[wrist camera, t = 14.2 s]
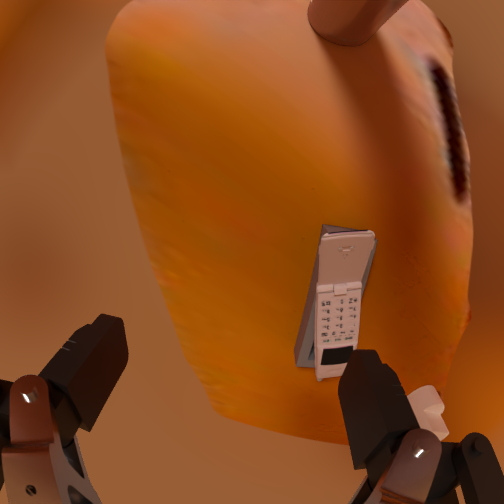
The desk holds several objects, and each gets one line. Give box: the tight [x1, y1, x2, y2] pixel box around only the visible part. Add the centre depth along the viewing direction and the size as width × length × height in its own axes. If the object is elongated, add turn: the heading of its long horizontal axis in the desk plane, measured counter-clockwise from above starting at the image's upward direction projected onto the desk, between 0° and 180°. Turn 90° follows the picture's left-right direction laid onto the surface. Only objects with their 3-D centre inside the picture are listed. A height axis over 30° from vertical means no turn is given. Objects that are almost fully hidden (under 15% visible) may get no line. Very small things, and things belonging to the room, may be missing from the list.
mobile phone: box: [314, 230, 375, 381], centre depth 33 cm, size 6×6×25 cm
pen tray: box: [294, 224, 378, 368], centre depth 37 cm, size 21×6×4 cm, turn 173°
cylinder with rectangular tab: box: [407, 385, 449, 441], centre depth 42 cm, size 9×9×12 cm
